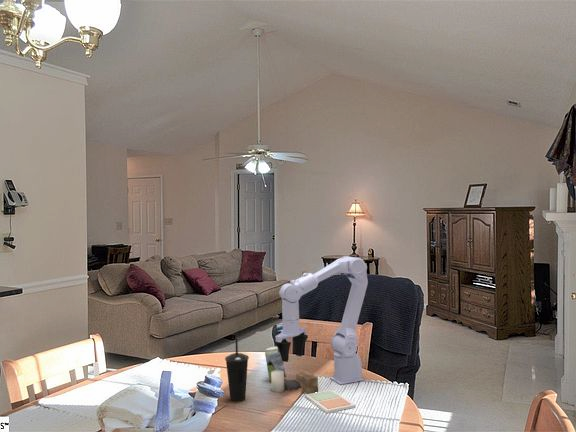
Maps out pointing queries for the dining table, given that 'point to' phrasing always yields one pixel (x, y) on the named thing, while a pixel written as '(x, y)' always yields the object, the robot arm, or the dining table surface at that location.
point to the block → (309, 384)
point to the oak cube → (299, 377)
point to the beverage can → (274, 360)
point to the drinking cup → (237, 374)
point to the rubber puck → (291, 384)
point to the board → (329, 401)
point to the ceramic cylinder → (277, 381)
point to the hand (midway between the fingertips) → (292, 358)
